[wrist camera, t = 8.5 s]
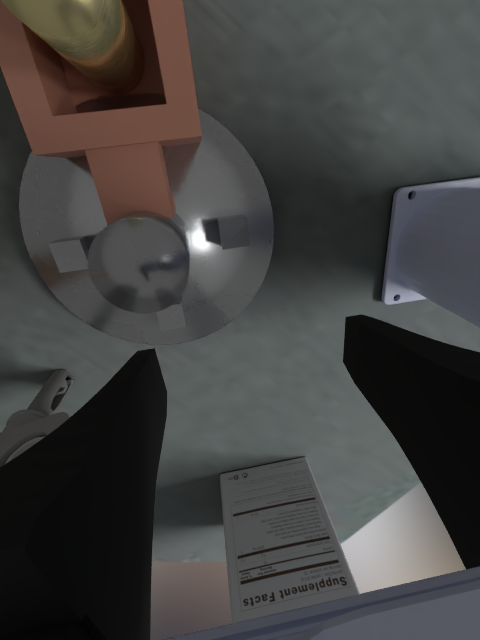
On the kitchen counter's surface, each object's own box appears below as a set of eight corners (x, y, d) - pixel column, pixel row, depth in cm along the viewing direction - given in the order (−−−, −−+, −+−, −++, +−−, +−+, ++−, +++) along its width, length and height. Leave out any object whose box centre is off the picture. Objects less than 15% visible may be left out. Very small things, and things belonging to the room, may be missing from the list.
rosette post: (261, 83, 16) (302, 28, 10) (275, 319, 22) (305, 375, 16) (-20, 112, 15) (-169, 72, 9) (81, 350, 21) (36, 423, 15)
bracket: (174, -32, 13) (165, -118, 9) (209, 203, 18) (213, 213, 14) (16, -20, 13) (-65, -106, 9) (93, 218, 17) (63, 233, 13)
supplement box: (308, 508, 34) (383, 730, 20) (230, 525, 33) (253, 764, 20) (308, 453, 29) (401, 687, 16) (218, 471, 29) (238, 730, 15)
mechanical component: (-16, 386, 21) (-165, 540, 12) (118, 338, 21) (62, 461, 12) (12, 414, 23) (-105, 571, 14) (138, 370, 22) (100, 500, 14)
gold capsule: (140, 17, 13) (90, -122, 7) (148, 96, 14) (111, 39, 8) (71, 11, 13) (-47, -140, 6) (86, 93, 14) (-2, 32, 8)
